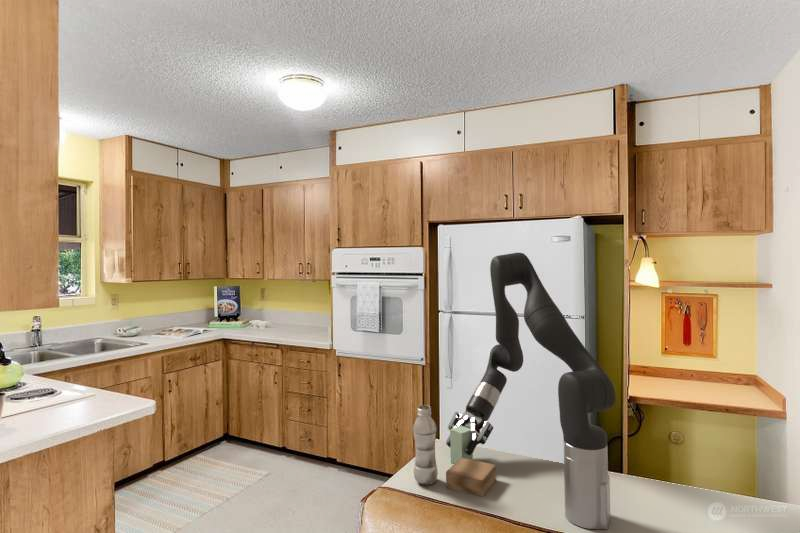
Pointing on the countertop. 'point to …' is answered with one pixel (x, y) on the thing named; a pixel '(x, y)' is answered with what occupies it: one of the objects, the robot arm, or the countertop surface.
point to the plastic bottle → (425, 447)
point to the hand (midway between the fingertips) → (457, 449)
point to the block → (459, 443)
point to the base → (471, 476)
